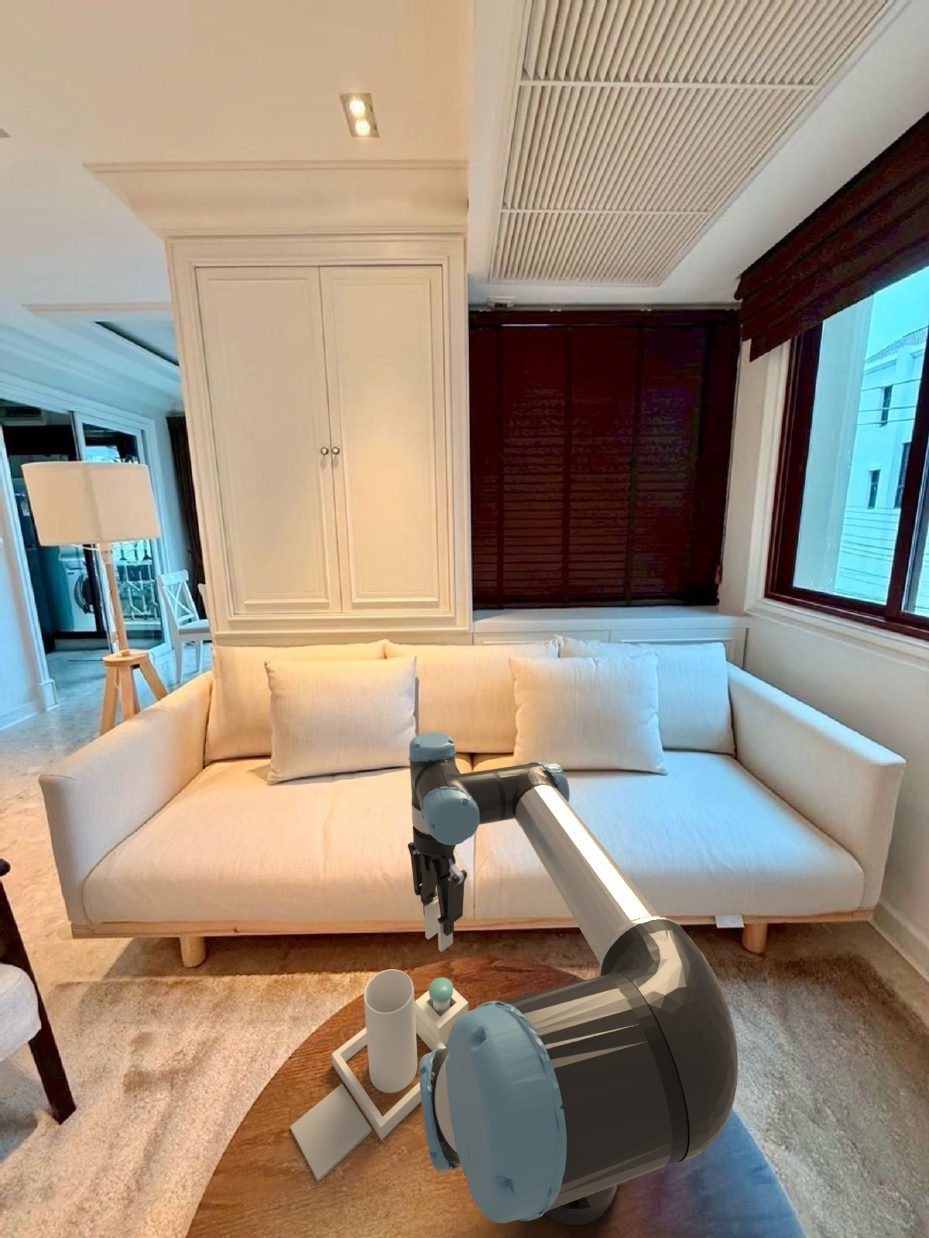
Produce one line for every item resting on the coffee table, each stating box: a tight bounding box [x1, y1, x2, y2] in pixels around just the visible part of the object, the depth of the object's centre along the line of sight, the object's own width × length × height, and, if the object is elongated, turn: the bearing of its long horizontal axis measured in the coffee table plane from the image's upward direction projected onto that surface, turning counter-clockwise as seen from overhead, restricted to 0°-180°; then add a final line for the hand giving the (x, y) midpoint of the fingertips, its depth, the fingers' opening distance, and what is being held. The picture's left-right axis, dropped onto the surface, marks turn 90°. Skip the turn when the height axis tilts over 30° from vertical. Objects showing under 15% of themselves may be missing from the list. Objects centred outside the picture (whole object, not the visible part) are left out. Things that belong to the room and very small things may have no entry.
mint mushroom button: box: [428, 977, 454, 1016], centre depth 96 cm, size 4×4×5 cm
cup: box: [363, 968, 418, 1094], centre depth 88 cm, size 8×8×16 cm
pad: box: [290, 1083, 372, 1183], centre depth 81 cm, size 9×9×1 cm
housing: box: [331, 987, 469, 1141], centre depth 92 cm, size 15×22×5 cm
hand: (439, 939), depth 93 cm, fingers open, 3 cm apart
